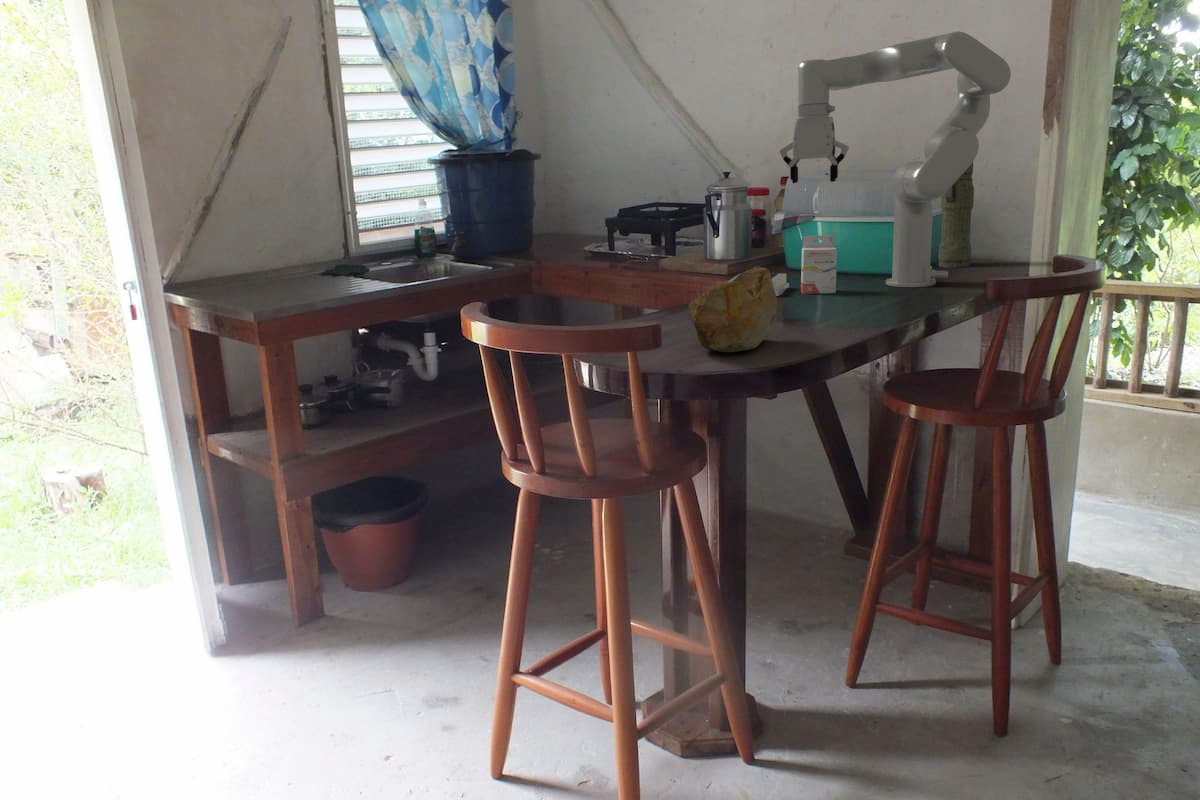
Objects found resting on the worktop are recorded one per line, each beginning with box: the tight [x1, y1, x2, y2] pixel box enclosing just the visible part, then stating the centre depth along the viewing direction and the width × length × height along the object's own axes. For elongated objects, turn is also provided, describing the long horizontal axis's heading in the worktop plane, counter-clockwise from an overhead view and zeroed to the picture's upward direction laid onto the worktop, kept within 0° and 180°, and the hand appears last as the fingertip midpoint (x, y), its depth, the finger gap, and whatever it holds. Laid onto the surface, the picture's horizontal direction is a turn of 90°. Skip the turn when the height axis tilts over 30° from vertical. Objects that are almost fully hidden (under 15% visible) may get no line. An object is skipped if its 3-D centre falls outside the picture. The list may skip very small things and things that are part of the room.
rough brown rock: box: [688, 265, 778, 353], centre depth 191 cm, size 23×17×15 cm
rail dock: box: [727, 272, 790, 297], centre depth 256 cm, size 14×15×4 cm
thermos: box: [937, 161, 975, 269], centre depth 279 cm, size 9×12×35 cm
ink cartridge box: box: [800, 234, 838, 295], centre depth 249 cm, size 9×5×15 cm, turn 84°
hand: (813, 182), depth 245 cm, fingers open, 9 cm apart
